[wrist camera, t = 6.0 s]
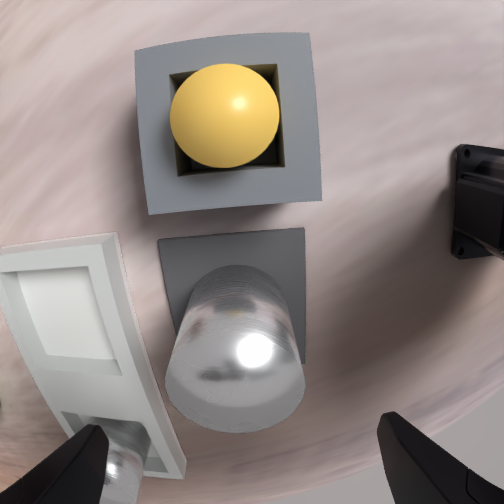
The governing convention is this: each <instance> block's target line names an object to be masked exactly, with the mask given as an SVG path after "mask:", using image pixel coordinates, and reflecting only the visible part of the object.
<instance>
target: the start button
mask: <svg viewBox="0 0 504 504" xmlns="http://www.w3.org/2000/svg"><path fill="white" fill-rule="evenodd" d="M278 123H279V106H278V101H277V98H276V96H275V93H274V91H273V90H272V88H271V86H270V85H269V84H268V83H267V81H266V80H265V79H264V78H263V77H261V76H260V75H259V74H258V73H256V72H255V71H253V70H251V69H249V68H246V67H243V66H240V65H236V64H217V65H212V66H208V67H205V68H203V69H201V70H199V71H197V72H195V73H194V74H192V75H191V76H190V77H189V78H187V79H186V80H185V81H184V82H183V84H182V85H181V86H180V87H179V89H178V91H177V92H176V94H175V96H174V99H173V101H172V105H171V110H170V124H171V130H172V133H173V136H174V138H175V140H176V142H177V143H178V145H179V146H180V148H181V149H182V150H183V151H184V152H185V153H186V154H187V155H188V156H189V157H191V158H192V159H194V160H195V161H197V162H199V163H201V164H204V165H207V166H211V167H217V168H230V167H236V166H239V165H243V164H245V163H248V162H250V161H251V160H253V159H255V158H256V157H258V156H259V155H260V154H261V153H262V152H263V151H264V150H265V149H266V148H267V147H268V146H269V144H270V143H271V141H272V140H273V138H274V136H275V133H276V131H277V128H278Z"/></svg>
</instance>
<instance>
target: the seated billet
mask: <svg viewBox="0 0 504 504" xmlns="http://www.w3.org/2000/svg"><path fill="white" fill-rule="evenodd" d="M89 423H92V424H98V425H100V426H101V427H102V429H103V431H104V432H105V434H106V436H107V437H108V439H109V451H108V458H107V466H106V474H105V481H104V486H103V490H102V494H101V498H100V503H99V504H136V502H137V497H138V493H139V489H140V485H141V481H142V477H143V473H144V469H145V465H146V461H147V457H148V453H149V449H150V445H151V438H150V436H149V434H148V432H147V430H146V428H145V427H144V426H143V425H142V424H141V423H139V422H138V421H127V420H118V419H109V418H101V417H94V416H91V417H90V419H89V421H88V423H87V424H89Z"/></svg>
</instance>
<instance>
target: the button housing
mask: <svg viewBox="0 0 504 504" xmlns="http://www.w3.org/2000/svg"><path fill="white" fill-rule="evenodd" d="M217 64H236V65H240V66H243V67H246V68H249V69H251V70H253V71H255V72H256V73H258V74H259V75H260V76H261V77H263V78H264V79H265V80H266V81H267V83H268V84H269V85H270V86H271V88H272V90H273V91H274V93H275V96H276V98H277V101H278V106H279V123H278V128H277V131H276V133H275V136H274V138H273V140H272V141H271V143H270V144H269V146H268V147H267V148H266V149H265V150H264V151H263V152H262V153H261V154H260V155H259V156H258V157H256V158H255V159H253V160H251V161H250V162H248V163H245V164H243V165H239V166H236V167H230V168H217V167H211V166H207V165H204V164H201V163H199V162H197V161H195V160H194V159H192V158H191V157H189V156H188V155H187V154H186V153H185V152H184V151H183V150H182V149H181V148H180V146H179V145H178V143H177V142H176V140H175V138H174V136H173V133H172V130H171V124H170V110H171V105H172V101H173V99H174V96H175V94H176V92H177V91H178V89H179V87H180V86H181V85H182V84H183V82H184V81H185V80H186V79H187V78H189V77H190V76H191V75H192V74H194V73H195V72H197V71H199V70H201V69H203V68H205V67H208V66H212V65H217ZM135 82H136V100H137V115H138V128H139V139H140V150H141V159H142V168H143V177H144V185H145V193H146V200H147V207H148V214H149V215H154V214H163V213H173V212H182V211H192V210H203V209H214V208H225V207H237V206H249V205H262V204H277V203H292V202H308V201H322V188H321V163H320V144H319V128H318V114H317V102H316V90H315V80H314V69H313V60H312V51H311V43H310V35H309V33H254V34H238V35H227V36H217V37H208V38H200V39H193V40H186V41H180V42H174V43H169V44H163V45H158V46H153V47H149V48H144V49H140V50H135Z"/></svg>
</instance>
